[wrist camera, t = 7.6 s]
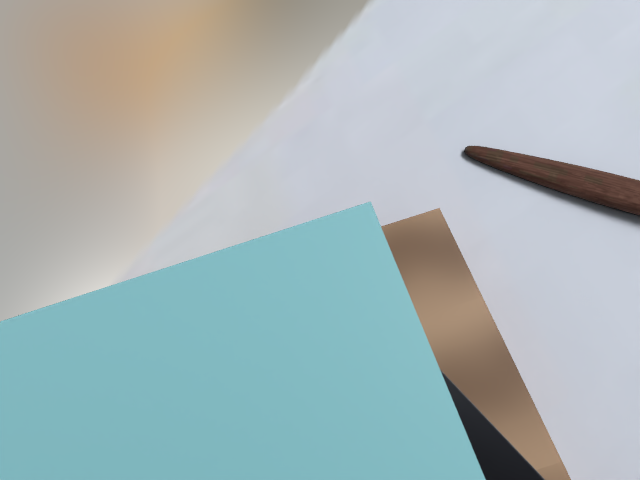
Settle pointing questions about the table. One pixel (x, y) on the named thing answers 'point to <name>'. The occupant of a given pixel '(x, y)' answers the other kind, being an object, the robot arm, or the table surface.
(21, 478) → the teal peg
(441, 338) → the walnut socket block
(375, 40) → the table surface
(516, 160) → the spoon
